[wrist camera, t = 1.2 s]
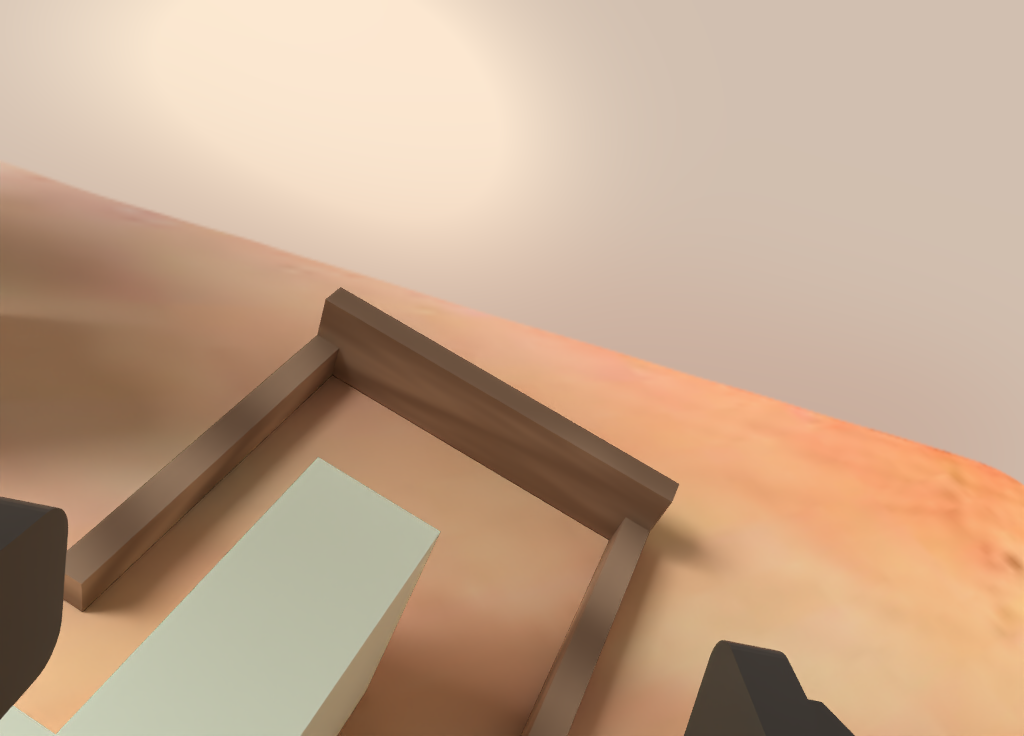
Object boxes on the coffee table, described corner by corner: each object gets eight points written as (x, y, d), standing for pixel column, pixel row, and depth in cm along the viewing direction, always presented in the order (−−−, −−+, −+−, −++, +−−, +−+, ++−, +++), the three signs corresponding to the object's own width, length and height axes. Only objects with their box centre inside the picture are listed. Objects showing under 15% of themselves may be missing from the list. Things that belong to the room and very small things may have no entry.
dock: (495, 883, 26) (539, 843, 24) (53, 592, 28) (48, 525, 25) (640, 535, 38) (679, 484, 36) (325, 349, 40) (340, 287, 38)
